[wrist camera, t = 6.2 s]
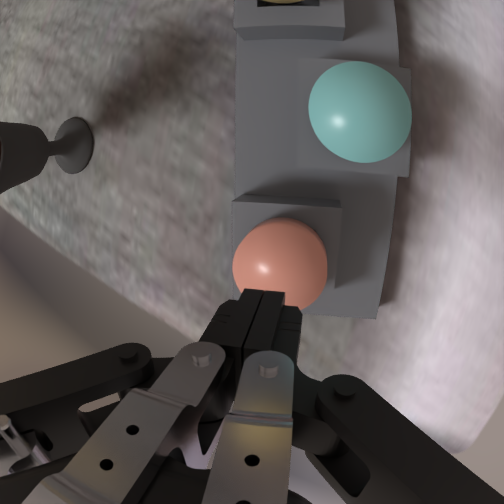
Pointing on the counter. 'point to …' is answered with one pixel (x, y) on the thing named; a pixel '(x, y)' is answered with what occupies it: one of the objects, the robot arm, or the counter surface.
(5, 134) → the sundae
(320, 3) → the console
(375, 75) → the button teal
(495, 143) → the counter surface
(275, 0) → the button ochre
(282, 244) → the salmon orange dome button
